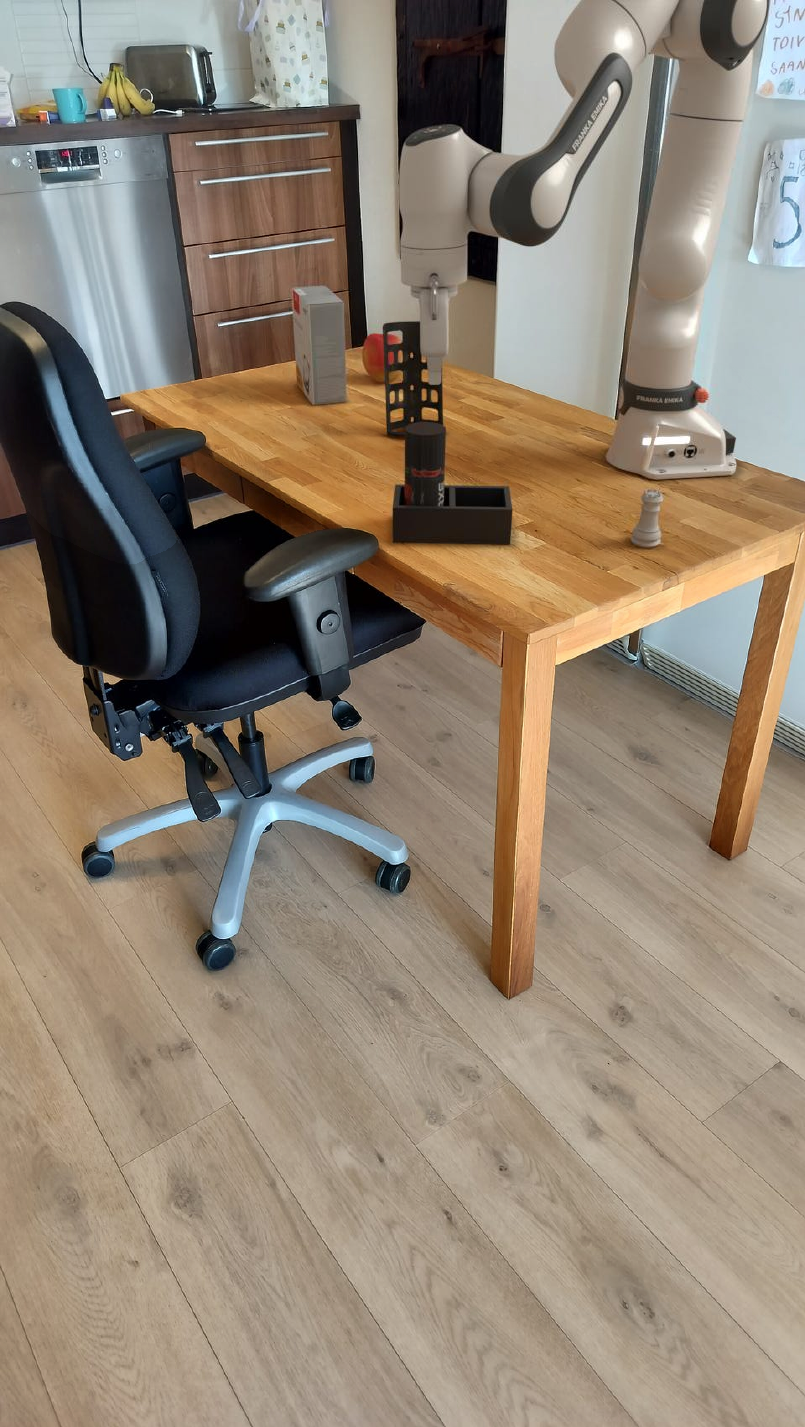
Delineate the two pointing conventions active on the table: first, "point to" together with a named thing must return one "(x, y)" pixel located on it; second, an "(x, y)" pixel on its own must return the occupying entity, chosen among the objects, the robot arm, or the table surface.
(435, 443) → the deodorant
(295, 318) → the hard drive box
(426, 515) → the box
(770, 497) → the table surface
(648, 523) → the rook chess piece
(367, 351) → the apple
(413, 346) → the holder
